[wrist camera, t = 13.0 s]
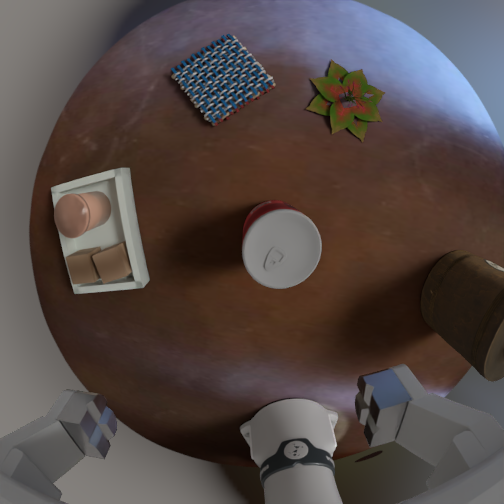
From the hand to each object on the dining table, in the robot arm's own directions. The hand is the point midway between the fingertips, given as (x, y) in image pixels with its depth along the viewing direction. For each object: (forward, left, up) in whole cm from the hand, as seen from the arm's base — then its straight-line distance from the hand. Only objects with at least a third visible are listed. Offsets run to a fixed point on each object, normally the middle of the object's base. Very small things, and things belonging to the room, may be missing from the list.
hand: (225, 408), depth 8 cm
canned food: (-1, -4, -31) cm, 32 cm away
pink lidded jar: (+5, +20, -30) cm, 37 cm away
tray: (+2, +20, -31) cm, 37 cm away
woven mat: (+20, 0, -32) cm, 38 cm away
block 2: (-2, +17, -30) cm, 35 cm away
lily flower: (+16, -16, -32) cm, 39 cm away
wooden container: (-15, -35, -31) cm, 49 cm away
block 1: (-2, +22, -30) cm, 38 cm away
